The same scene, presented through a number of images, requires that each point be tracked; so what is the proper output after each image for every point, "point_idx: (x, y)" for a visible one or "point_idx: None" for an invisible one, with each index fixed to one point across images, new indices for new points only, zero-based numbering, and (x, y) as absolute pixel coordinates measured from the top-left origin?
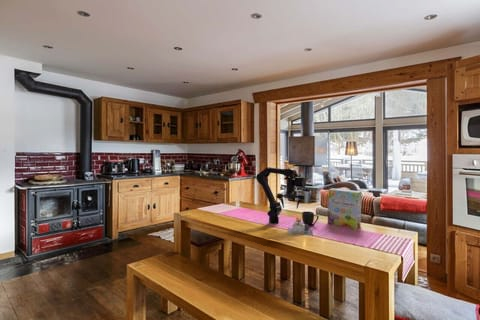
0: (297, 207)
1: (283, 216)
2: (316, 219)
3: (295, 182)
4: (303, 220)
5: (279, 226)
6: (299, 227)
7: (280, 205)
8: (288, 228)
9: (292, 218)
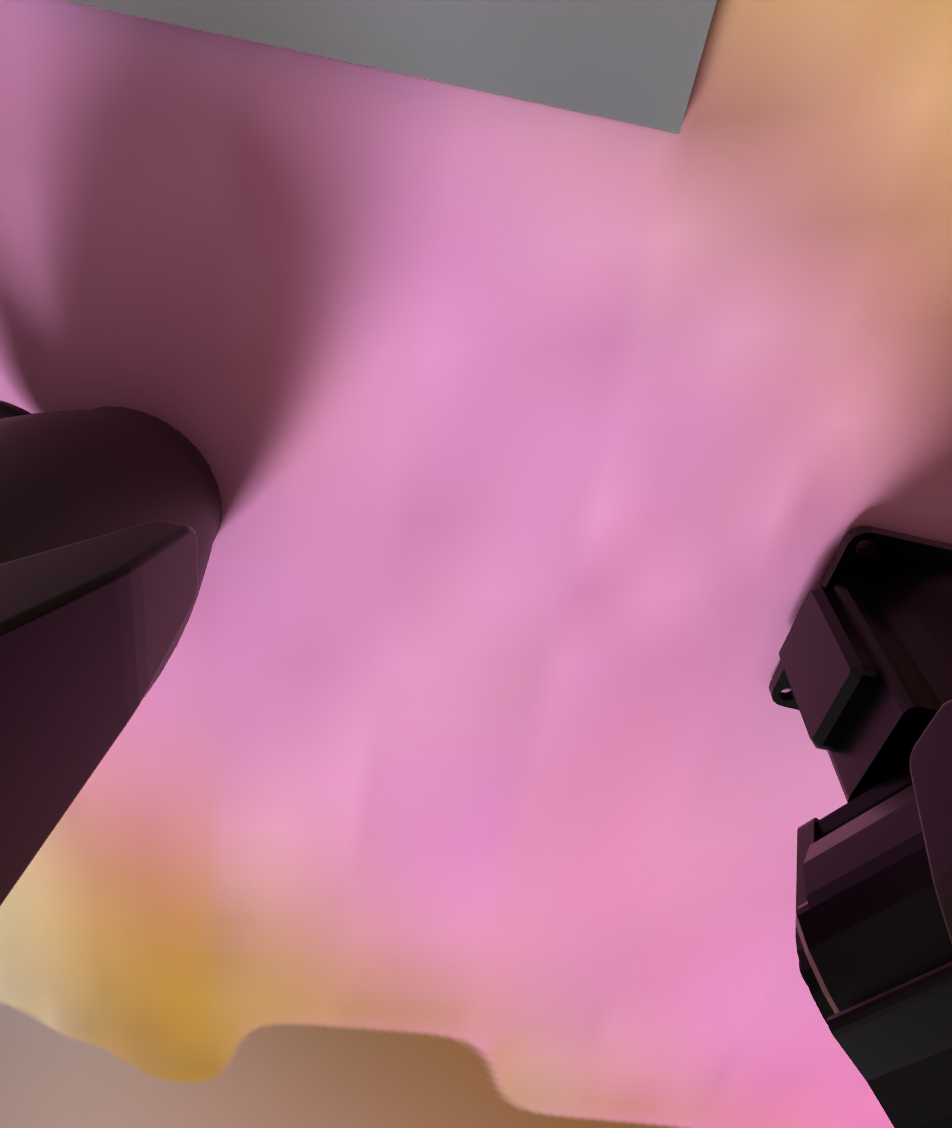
0: (87, 546)
1: (543, 1014)
2: None
3: None
4: (169, 509)
5: (840, 402)
6: None
7: (906, 1097)
8: (680, 61)
9: (406, 920)
